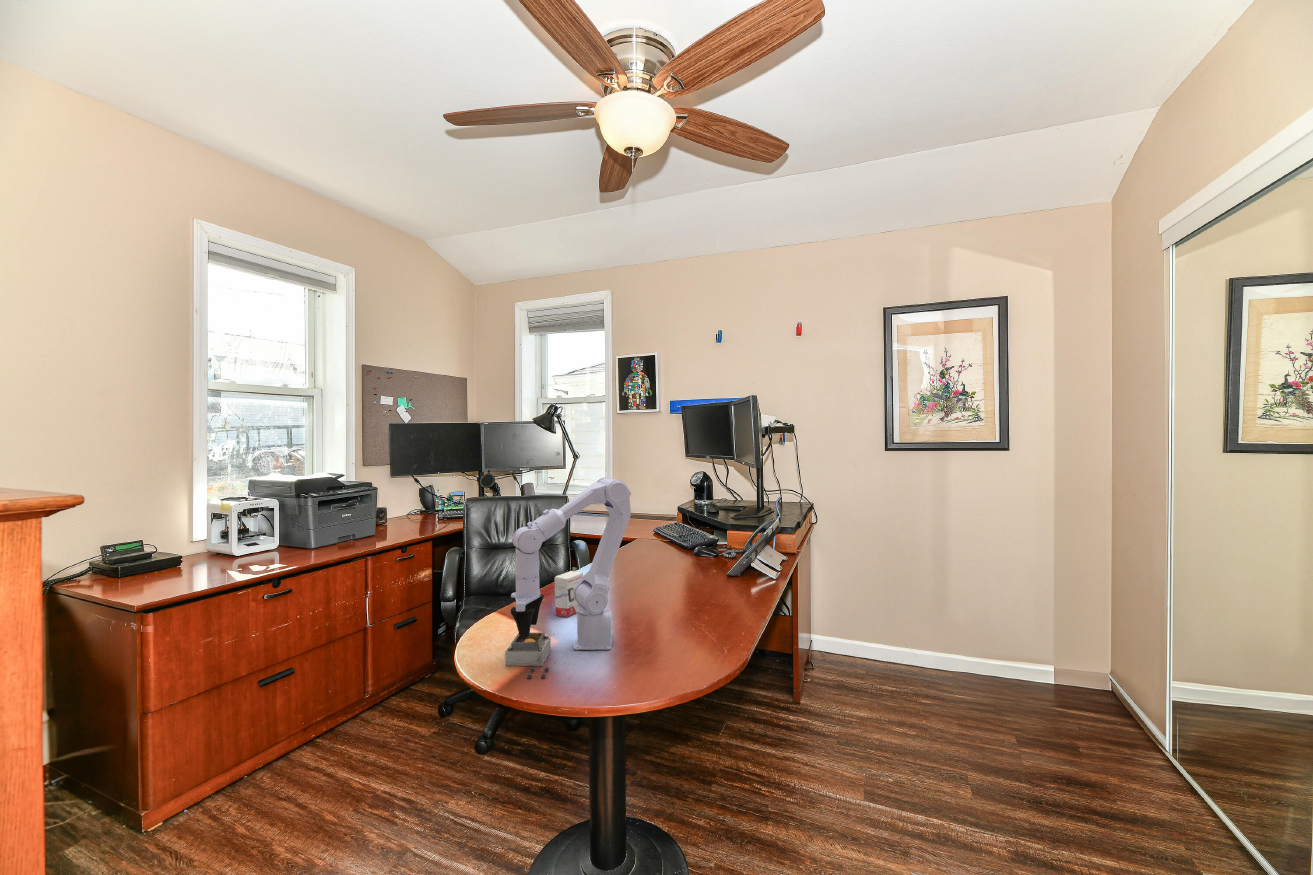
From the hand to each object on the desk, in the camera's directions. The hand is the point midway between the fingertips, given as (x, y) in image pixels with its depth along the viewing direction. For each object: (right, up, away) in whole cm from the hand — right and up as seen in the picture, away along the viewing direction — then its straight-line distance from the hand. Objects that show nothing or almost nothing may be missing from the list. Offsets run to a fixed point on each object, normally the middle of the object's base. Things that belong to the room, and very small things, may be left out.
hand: (528, 630), depth 132 cm
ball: (0, -6, 0) cm, 6 cm away
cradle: (+4, -7, -9) cm, 12 cm away
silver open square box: (0, -7, 0) cm, 7 cm away
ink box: (+5, -6, +32) cm, 33 cm away
